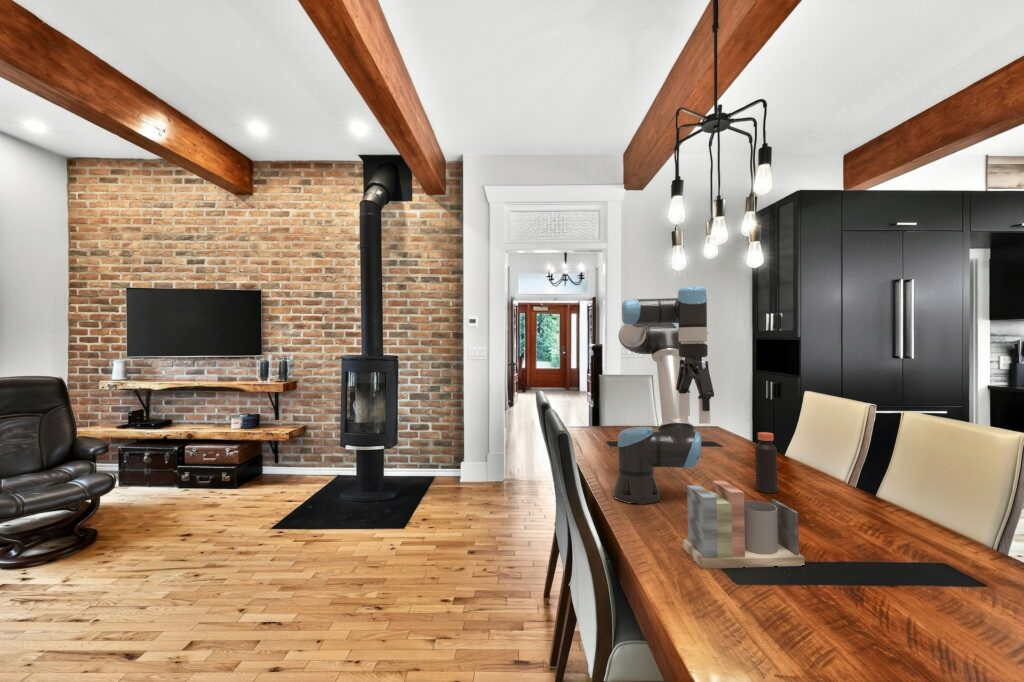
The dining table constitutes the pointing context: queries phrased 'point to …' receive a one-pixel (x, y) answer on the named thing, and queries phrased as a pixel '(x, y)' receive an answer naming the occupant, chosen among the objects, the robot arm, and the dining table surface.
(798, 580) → the dining table surface
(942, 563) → the dining table surface
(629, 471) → the robot arm
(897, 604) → the dining table surface
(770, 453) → the bottle
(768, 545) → the cup
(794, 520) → the pastel book stand
